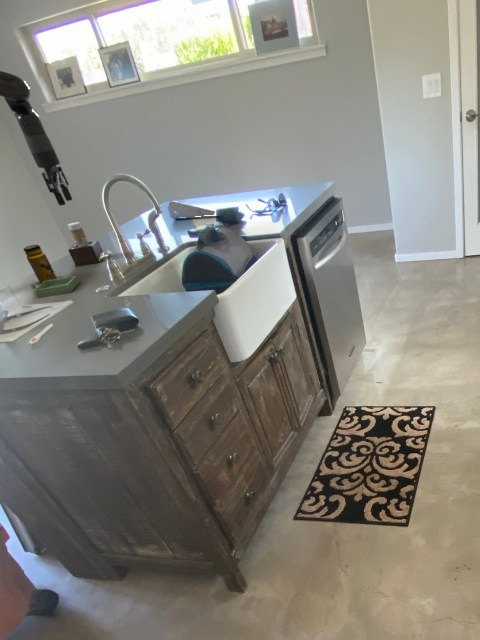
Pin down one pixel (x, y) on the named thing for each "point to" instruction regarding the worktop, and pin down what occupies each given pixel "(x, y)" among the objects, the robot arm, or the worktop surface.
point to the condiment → (39, 264)
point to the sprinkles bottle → (78, 234)
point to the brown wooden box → (86, 253)
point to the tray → (56, 286)
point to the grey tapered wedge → (187, 211)
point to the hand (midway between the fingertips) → (66, 202)
